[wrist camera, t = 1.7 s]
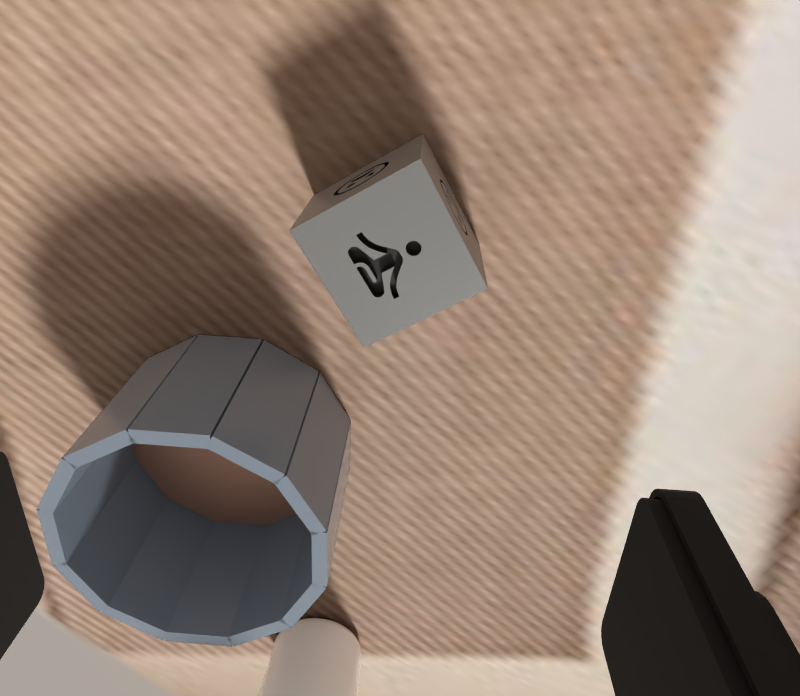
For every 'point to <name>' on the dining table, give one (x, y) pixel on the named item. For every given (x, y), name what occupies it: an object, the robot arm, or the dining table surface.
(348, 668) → the drinking glass
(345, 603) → the dining table surface
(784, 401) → the dining table surface
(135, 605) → the cup
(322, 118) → the dining table surface
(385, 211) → the dice cube
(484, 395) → the dining table surface
